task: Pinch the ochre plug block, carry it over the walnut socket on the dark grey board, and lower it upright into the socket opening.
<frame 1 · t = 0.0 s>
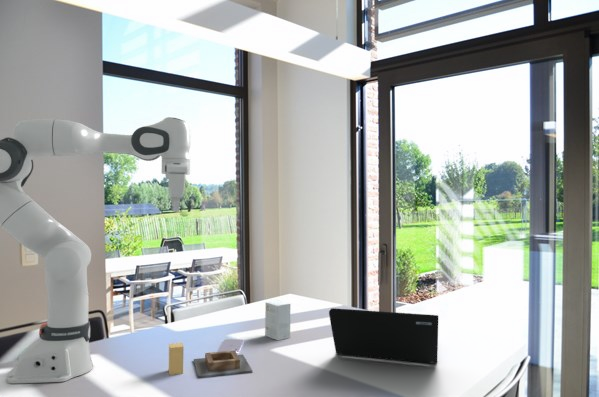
hand: (175, 211, 148), 48 cm above the table, tool pointing down, fingers open, 8 cm apart
socket board: (222, 366, 143), on the table
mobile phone: (231, 348, 162), on the table
plug block: (175, 371, 138), on the table
small box: (277, 337, 175), on the table
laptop: (386, 356, 156), on the table
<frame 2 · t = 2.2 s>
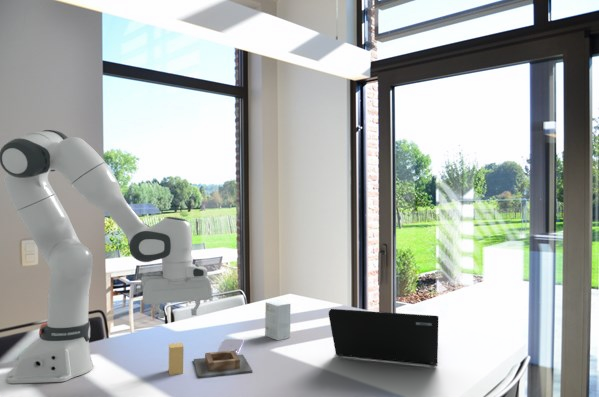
hand: (177, 316, 138), 17 cm above the table, tool pointing down, fingers open, 8 cm apart
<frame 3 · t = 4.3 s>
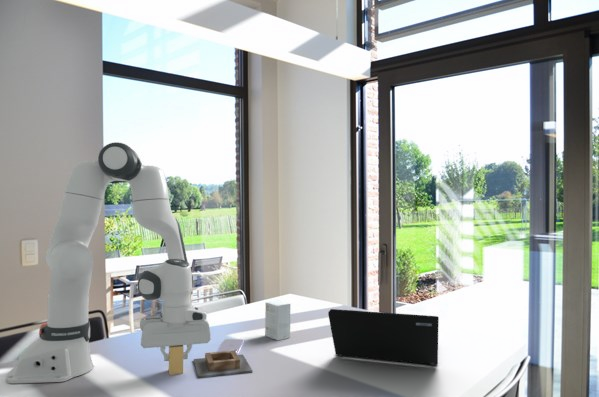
hand: (175, 359, 138), 4 cm above the table, tool pointing down, fingers closed on plug block, 4 cm apart
plug block: (175, 371, 138), on the table, touching gripper
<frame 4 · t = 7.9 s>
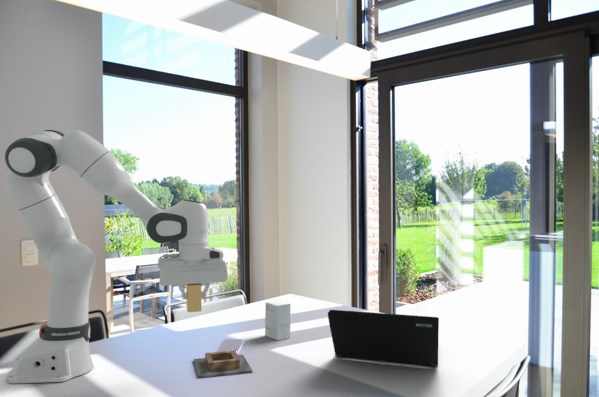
hand: (194, 298, 139), 22 cm above the table, tool pointing down, fingers closed on plug block, 4 cm apart
plug block: (194, 310, 139), point 18 cm above the table, touching gripper
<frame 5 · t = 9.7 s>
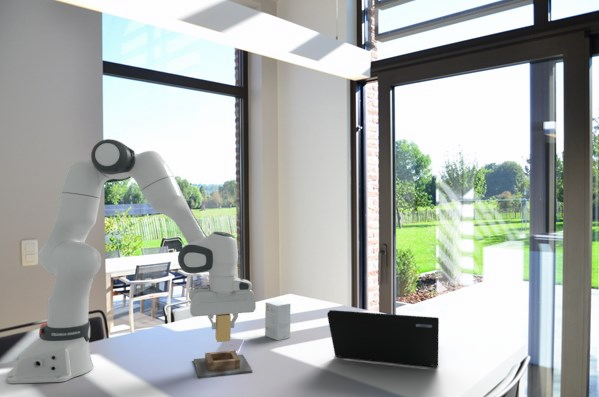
hand: (223, 328, 143), 12 cm above the table, tool pointing down, fingers closed on plug block, 4 cm apart
plug block: (222, 339, 143), point 8 cm above the table, touching gripper
when the fingers open (5 cm above the table, at t = 11.5 s): plug block drops 1 cm, resting on socket board.
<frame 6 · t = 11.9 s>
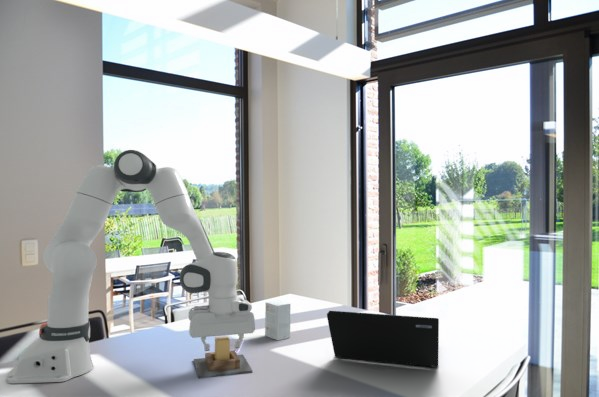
hand: (222, 349, 143), 5 cm above the table, tool pointing down, fingers open, 8 cm apart
plug block: (221, 364, 143), point 1 cm above the table, touching socket board
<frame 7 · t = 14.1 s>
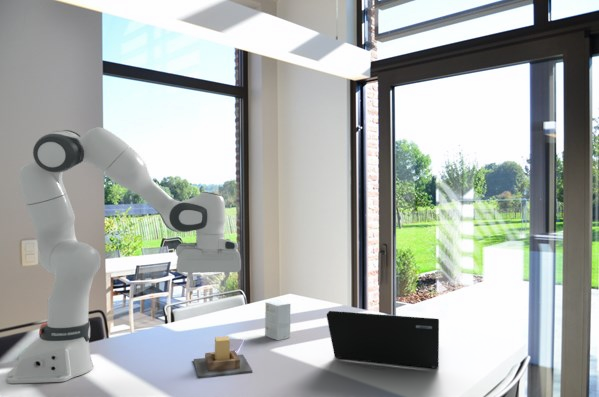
hand: (208, 286, 146), 24 cm above the table, tool pointing down, fingers open, 8 cm apart
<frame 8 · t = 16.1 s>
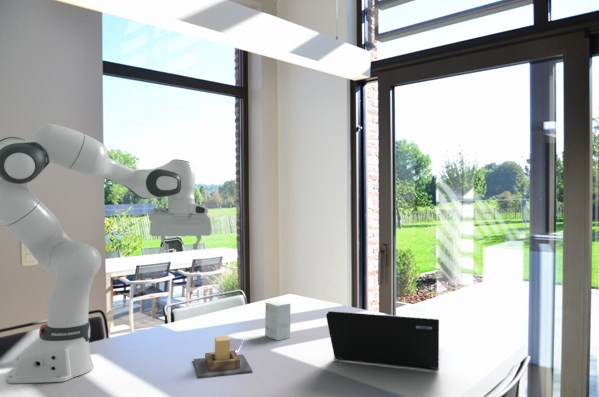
hand: (180, 249, 154), 35 cm above the table, tool pointing down, fingers open, 8 cm apart
at the end: plug block 0.1 cm off-centre on the socket board, point 0.6 cm above the socket board's base; plug block tilted 0°; the gripper is holding nothing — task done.
